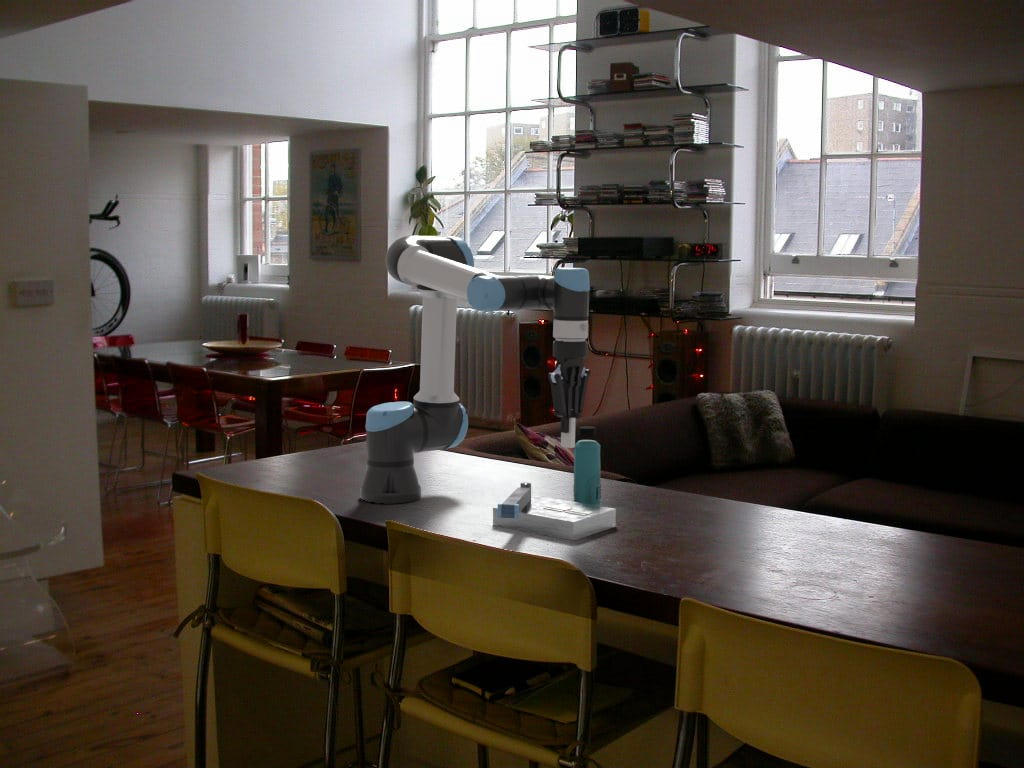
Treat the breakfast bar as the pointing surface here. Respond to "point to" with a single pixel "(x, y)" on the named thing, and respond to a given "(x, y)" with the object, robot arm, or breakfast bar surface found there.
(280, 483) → the breakfast bar surface
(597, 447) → the beverage bottle
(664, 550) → the breakfast bar surface
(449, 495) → the breakfast bar surface
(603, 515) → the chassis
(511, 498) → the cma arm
